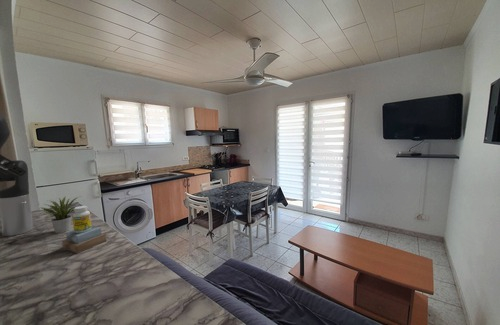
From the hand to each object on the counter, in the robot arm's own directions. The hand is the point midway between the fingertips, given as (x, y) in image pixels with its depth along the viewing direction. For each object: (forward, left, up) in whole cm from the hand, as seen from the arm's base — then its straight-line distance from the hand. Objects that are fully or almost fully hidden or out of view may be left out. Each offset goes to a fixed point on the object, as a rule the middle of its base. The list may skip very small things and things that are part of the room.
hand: (17, 173), depth 67 cm
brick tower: (+8, +14, -31) cm, 34 cm away
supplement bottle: (+8, +13, -25) cm, 29 cm away
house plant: (-17, +19, -31) cm, 40 cm away
